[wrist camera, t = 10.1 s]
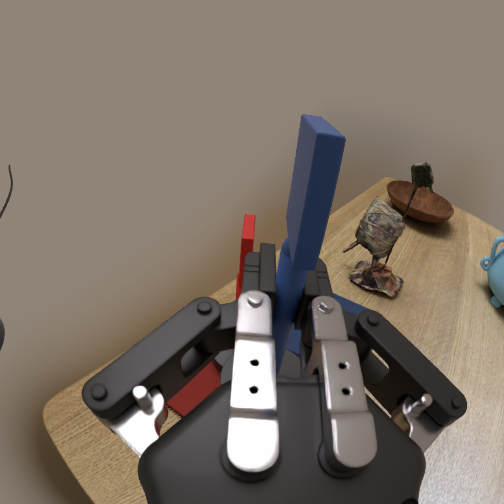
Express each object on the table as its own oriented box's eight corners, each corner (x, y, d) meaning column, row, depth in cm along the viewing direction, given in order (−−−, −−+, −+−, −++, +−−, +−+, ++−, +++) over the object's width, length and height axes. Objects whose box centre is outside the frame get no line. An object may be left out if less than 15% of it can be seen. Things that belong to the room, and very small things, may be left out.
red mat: (161, 400, 25) (160, 398, 24) (231, 330, 33) (231, 326, 33) (265, 468, 20) (266, 467, 19) (322, 377, 28) (324, 375, 28)
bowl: (370, 208, 65) (376, 190, 62) (394, 190, 78) (399, 175, 76) (442, 244, 54) (450, 226, 52) (450, 217, 68) (456, 202, 65)
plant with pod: (357, 251, 49) (387, 143, 37) (408, 286, 42) (453, 172, 30) (329, 267, 45) (360, 143, 33) (385, 308, 38) (439, 178, 26)
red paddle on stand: (208, 375, 27) (201, 244, 18) (215, 333, 32) (215, 204, 22) (263, 380, 27) (291, 252, 18) (264, 338, 32) (286, 210, 22)
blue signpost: (215, 424, 15) (213, 129, 6) (224, 352, 20) (237, 103, 10) (307, 428, 15) (442, 169, 6) (302, 358, 20) (372, 124, 10)
